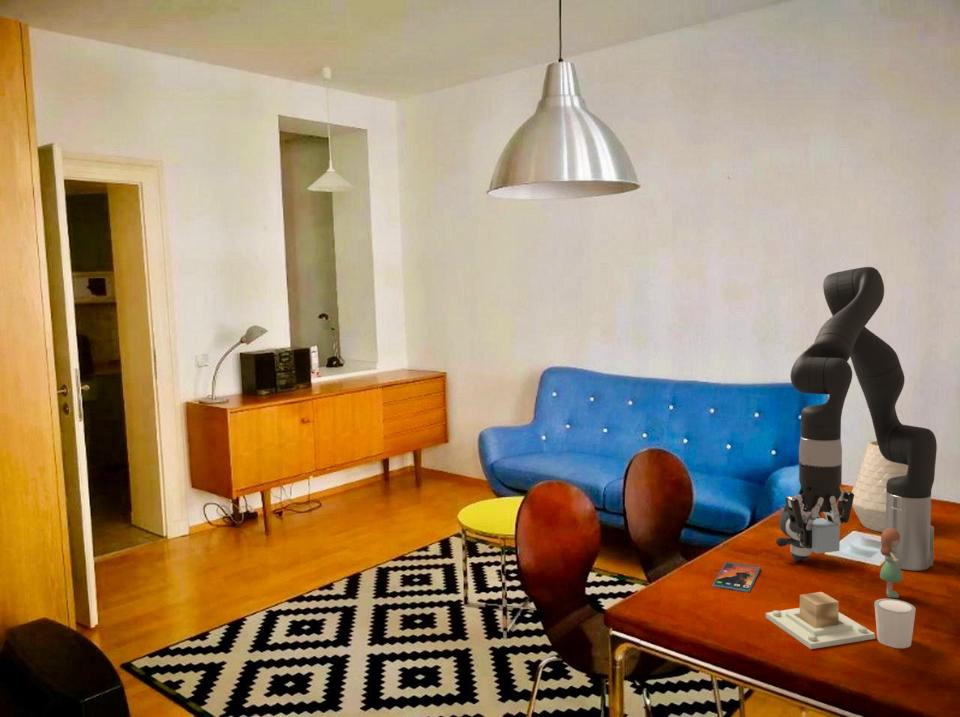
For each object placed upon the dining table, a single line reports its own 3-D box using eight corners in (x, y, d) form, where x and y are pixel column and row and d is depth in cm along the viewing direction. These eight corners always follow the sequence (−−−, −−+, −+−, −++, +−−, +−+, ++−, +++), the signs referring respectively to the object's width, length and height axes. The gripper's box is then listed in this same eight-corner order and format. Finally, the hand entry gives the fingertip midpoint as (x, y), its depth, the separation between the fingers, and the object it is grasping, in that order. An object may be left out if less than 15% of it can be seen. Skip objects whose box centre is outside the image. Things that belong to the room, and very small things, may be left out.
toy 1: (786, 570, 178) (787, 508, 176) (769, 554, 188) (769, 496, 187) (835, 568, 178) (836, 506, 177) (815, 553, 188) (816, 494, 187)
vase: (855, 513, 218) (856, 434, 216) (925, 522, 208) (927, 440, 206) (843, 530, 204) (844, 446, 202) (917, 541, 194) (919, 453, 192)
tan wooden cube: (821, 615, 152) (821, 591, 151) (838, 626, 147) (838, 601, 147) (799, 619, 151) (799, 594, 150) (816, 629, 146) (816, 605, 145)
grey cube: (822, 542, 150) (822, 517, 150) (839, 550, 145) (839, 525, 145) (800, 545, 149) (800, 520, 149) (816, 553, 144) (816, 528, 144)
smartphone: (711, 585, 170) (725, 561, 183) (711, 590, 170) (725, 566, 183) (749, 589, 166) (761, 565, 179) (749, 595, 166) (761, 570, 179)
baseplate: (825, 608, 157) (825, 600, 157) (874, 638, 144) (875, 629, 144) (765, 617, 154) (765, 609, 154) (810, 649, 141) (810, 639, 140)
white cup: (865, 634, 146) (866, 599, 145) (899, 631, 146) (900, 596, 146) (887, 651, 139) (888, 614, 138) (923, 648, 139) (924, 612, 139)
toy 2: (909, 610, 155) (911, 539, 154) (886, 608, 156) (887, 538, 155) (894, 585, 168) (896, 519, 166) (873, 583, 169) (874, 518, 168)
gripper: (838, 453, 151) (837, 535, 153) (775, 459, 148) (775, 543, 149) (866, 461, 144) (864, 548, 145) (800, 468, 140) (799, 556, 142)
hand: (819, 545), depth 147 cm, fingers closed on grey cube, 5 cm apart
